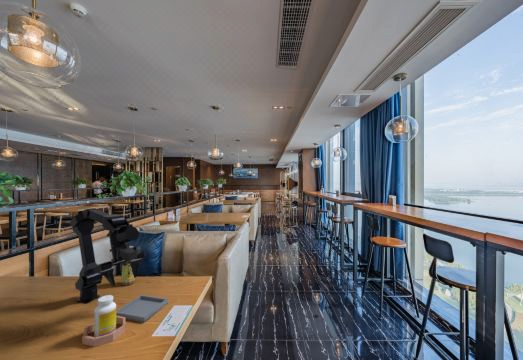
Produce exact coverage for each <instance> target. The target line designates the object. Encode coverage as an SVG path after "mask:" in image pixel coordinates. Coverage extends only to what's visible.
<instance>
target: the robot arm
mask: <svg viewBox="0 0 523 360" xmlns="http://www.w3.org/2000/svg"><path fill="white" fill-rule="evenodd" d="M96 222H97V223H100V224H102V225H101V227H102V228H104V229H105V230H106V231H108V233H107V234H106V237H107V238H108V237H109V238H108V239H109V243H110V249H109V252H110V253H111V256H112V258H111V259H110V260H109V261H105V262H102V263H96V257H95V252H94V251H95V249H94V245H93V238H92V232H93V230H94V228H95V223H96ZM70 227H71V228H72V232H73V233H75V235H77V237H78V243H79V244H78V245H79V249H80V257H81V262H82V268H81V270H80V271H79V276H78V277H79V278H78V279H77V280H76V282H75V283H74V286H75V289H76V290H78V291H79V298H78V299H77V300H76V302H78V303H83V304H89V303H91V302H93V301H94V300H96V299H99V298H101V295H100V294H98V285H100V284H102V281H103V278H105V279H106V280H107V281H108V283H109V284H110V285H111V286H112V287H115V286H116V280H115V276H114V270H115V268H112V267H114V266H117V265H120V264H122V263H124V262H127V261H130V260H132V261H131V262H130V265H131V269H132V273H133V276H134V278H135V279H136V278H137V277H138V271H139V267H140V264H141V262H142V261H143V260H144V258H146V257H147V255H146V253H145V252H144V250H141V246H140V245H135V246H134V248H130V246H131V245H129V244H128V243H129V242H133V241H135V240H137V239H138V238H139V236H140V232H139V230H138V229H137V227H135V226H133V223H130V222H128V220H127V219H126V218H125V216H124V215H122V214H111V213H107V212H105V211H102V210H99V209H98V208H95V207H92V208H86V209H84V210H82V212H80V213H78V214H76V215H74V216H73V217H72V219H71V220H70ZM123 259H124V260H123Z"/></svg>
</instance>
